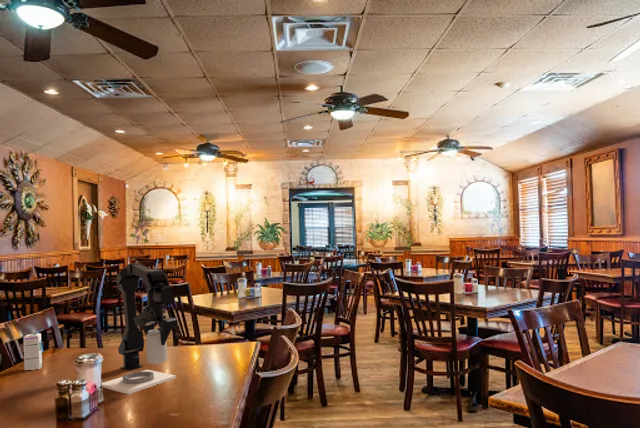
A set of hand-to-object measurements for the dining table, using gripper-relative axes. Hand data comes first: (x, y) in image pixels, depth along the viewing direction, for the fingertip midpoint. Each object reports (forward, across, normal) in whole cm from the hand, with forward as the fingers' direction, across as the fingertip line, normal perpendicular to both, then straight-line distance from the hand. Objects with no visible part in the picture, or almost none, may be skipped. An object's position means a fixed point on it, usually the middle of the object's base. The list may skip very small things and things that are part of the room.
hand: (156, 344), depth 181 cm
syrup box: (+13, -62, -15) cm, 66 cm away
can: (+7, 0, 0) cm, 7 cm away
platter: (+13, -2, -7) cm, 15 cm away
